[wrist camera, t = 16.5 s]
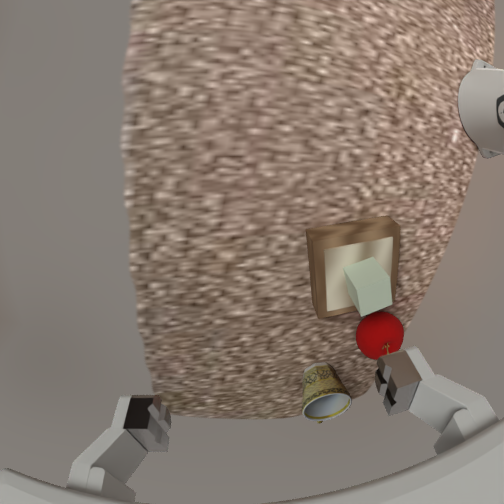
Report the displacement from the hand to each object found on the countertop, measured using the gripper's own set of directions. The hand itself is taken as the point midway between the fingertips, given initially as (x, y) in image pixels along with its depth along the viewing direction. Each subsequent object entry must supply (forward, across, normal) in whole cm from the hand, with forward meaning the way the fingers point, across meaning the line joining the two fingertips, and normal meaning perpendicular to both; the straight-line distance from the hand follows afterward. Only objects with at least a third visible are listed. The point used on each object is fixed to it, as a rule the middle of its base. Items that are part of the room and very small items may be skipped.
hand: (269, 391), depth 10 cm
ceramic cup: (+36, +8, -45) cm, 58 cm away
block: (+30, +15, -17) cm, 38 cm away
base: (+35, +15, -17) cm, 42 cm away
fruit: (+35, +20, -32) cm, 52 cm away
